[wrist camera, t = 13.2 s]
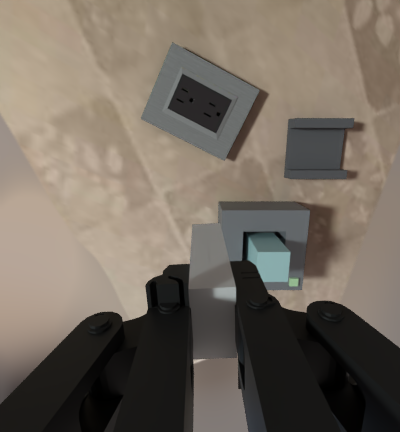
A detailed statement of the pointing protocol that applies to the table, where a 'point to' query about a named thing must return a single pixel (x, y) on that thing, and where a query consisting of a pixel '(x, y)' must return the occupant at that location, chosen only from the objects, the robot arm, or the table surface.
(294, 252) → the port block
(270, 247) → the plug
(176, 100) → the electrical outlet
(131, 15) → the table surface
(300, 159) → the grey u-channel bracket
